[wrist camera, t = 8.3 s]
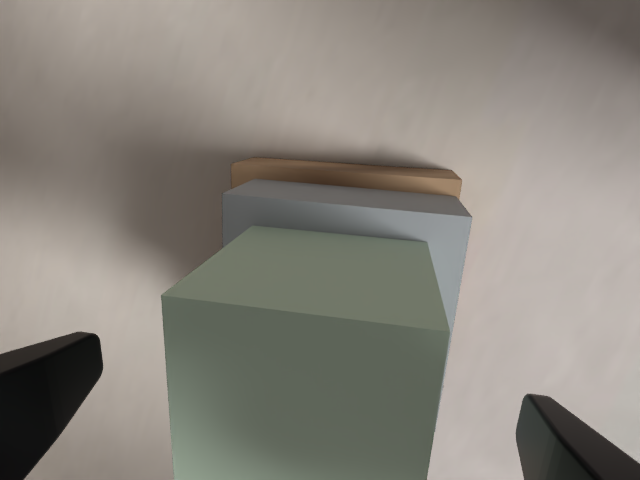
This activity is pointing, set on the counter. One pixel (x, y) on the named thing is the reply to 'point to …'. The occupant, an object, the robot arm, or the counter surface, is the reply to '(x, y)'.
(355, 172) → the tower base
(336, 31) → the counter surface
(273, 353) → the stack block
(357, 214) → the blue-grey square block
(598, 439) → the robot arm
